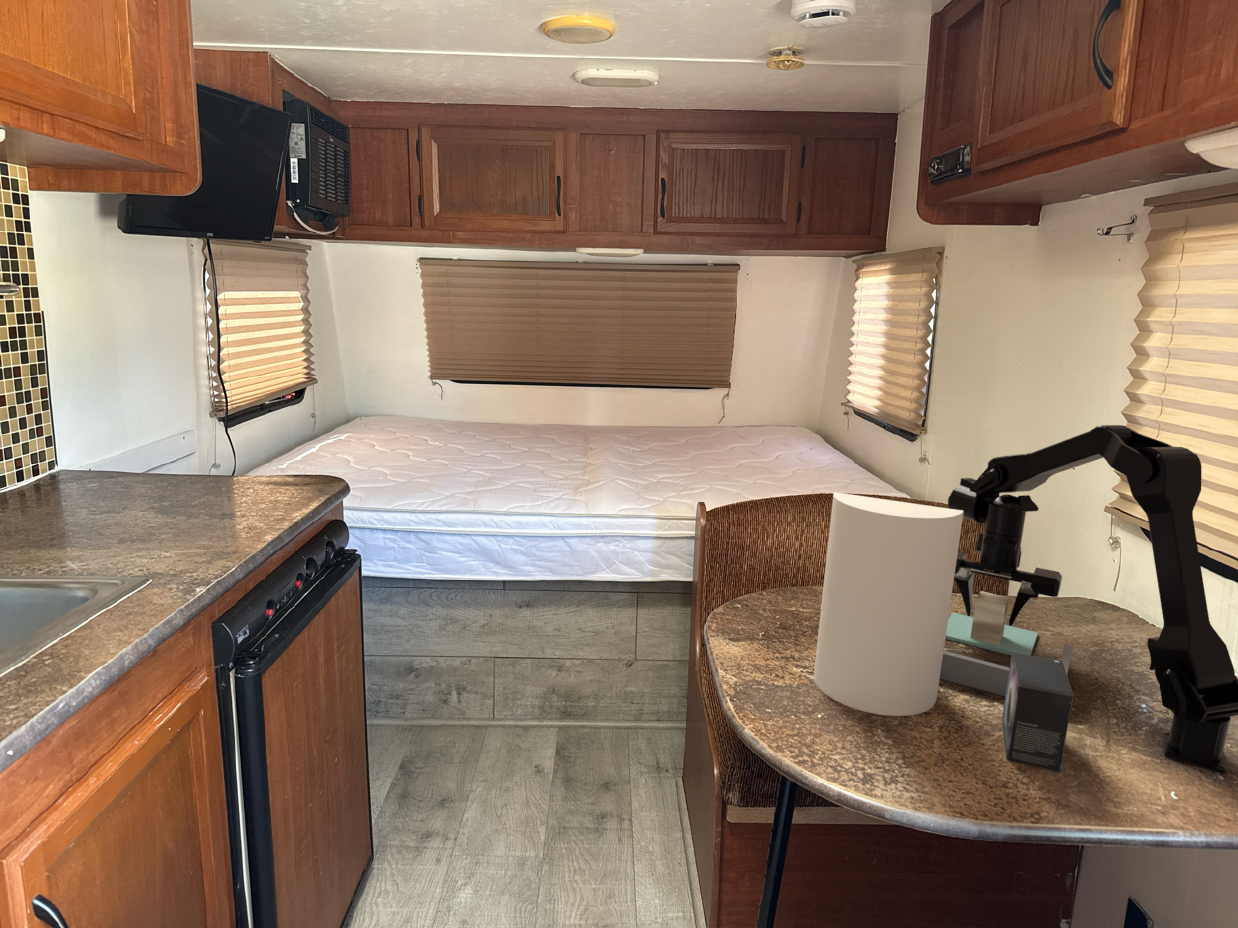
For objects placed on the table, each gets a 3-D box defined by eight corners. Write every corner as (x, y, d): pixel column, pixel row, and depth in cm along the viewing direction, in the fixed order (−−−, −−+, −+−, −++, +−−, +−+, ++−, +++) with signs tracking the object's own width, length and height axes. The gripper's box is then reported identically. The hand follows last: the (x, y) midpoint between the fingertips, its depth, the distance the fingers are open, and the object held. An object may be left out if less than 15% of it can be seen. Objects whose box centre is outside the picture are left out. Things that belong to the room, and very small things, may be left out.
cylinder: (931, 728, 107) (961, 525, 101) (802, 695, 114) (822, 504, 108) (940, 675, 122) (966, 497, 116) (825, 650, 129) (844, 480, 123)
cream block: (999, 644, 133) (1005, 605, 132) (970, 637, 135) (976, 598, 134) (1003, 636, 137) (1009, 597, 135) (974, 629, 139) (980, 591, 138)
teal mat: (1029, 659, 129) (1029, 656, 129) (938, 636, 137) (938, 633, 137) (1037, 635, 139) (1037, 632, 139) (952, 615, 147) (952, 612, 146)
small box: (998, 720, 110) (1009, 649, 108) (1051, 732, 107) (1064, 659, 105) (1003, 760, 100) (1016, 683, 98) (1062, 773, 98) (1077, 694, 96)
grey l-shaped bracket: (1059, 711, 113) (1064, 685, 112) (879, 661, 126) (882, 637, 125) (1068, 669, 127) (1072, 645, 126) (904, 627, 140) (907, 606, 139)
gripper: (1071, 532, 134) (1056, 619, 137) (952, 511, 144) (941, 593, 147) (1065, 547, 125) (1049, 641, 128) (939, 524, 135) (927, 612, 138)
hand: (989, 620), depth 136 cm, fingers open, 6 cm apart
